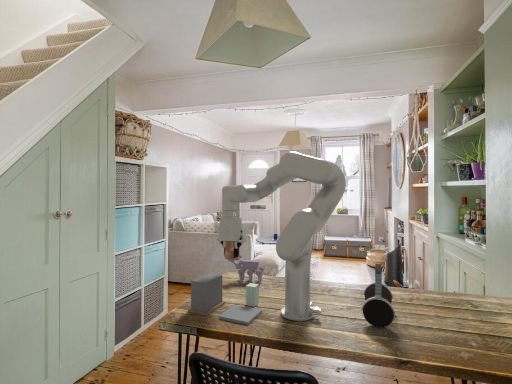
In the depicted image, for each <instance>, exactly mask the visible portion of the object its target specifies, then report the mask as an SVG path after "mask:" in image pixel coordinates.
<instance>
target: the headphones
mask: <svg viewBox="0 0 512 384" xmlns="http://www.w3.org/2000/svg"><path fill="white" fill-rule="evenodd" d="M374 266H375V268H374V271H375V273H374V275H375V276H374V282H372V283H370V284H368V285H367V286H366V287H365V289H364V290H363V294H362V295H363V296H364V300H365V301H364V302H363V304H362V306H361V311H362V315H363V317H364V320H366V322H367V323H368V324H370V325H371V326H372V327H376V328H386V327H388V326H390V325H391V324H392V323H393V321H394V318H395V317H396V311H395V309H394V306H393V304H392V303H393V301H392V300H393V299H394V296H393V293H392V291H391V289H390V288H389V287H388V286H387V285H386V284H384V283H383V281H382V279H383V278H382V277H383V275H382V271H383V270H382V268H383V267H382V263H377V262H376V263H375V265H374Z"/></svg>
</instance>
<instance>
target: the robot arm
mask: <svg viewBox="0 0 512 384" xmlns="http://www.w3.org/2000/svg"><path fill="white" fill-rule="evenodd" d="M265 175H266V176H265V177H264V178H262V179H261V180H260V181H257V182H256V183H254V184H238V185H224V186H223V187H222V188H221V206H222V207H221V209H222V210H221V211H220V212H219V214H220V215H221V216H222V217H220V218H219V219H220V220H219V225H218V238H217V239H216V240H217V242H219V243H220V244H221V246H222V248H223V255H224V257H225V241H231V242H234V245H235V248H234V258H237V257H239V254H240V247H242V245H244V244H245V243H246V242H247V239H246V237H245V235H244V228H243V220H242V217H241V214H240V213H241V211H240V210H241V209H240V205H241V204H244V203H245V204H247V203H248V204H249V203H256V202H259V201H261V200H263V199H265V198H267V197H269V196H270V195H272V194H273V193H274V192H275V191H277V190H278V189H279V188H281V187H283V186H285V185H287V184H289V183H291V182H293V181H295V180H296V179H300V180H304V181H306V182H310V183H313V184H317V185H321V187H320V189H319V190H318V192H316V194H315V195H314V197H313V198H312V201H311V202H310V203H309V204H308V206H307V207H306V208H304V209H303V208H302V209H301V210H298V211H297V212H295V213H294V214H293V215H292V216H291V218H290V219H289V221H288V223H287V224H286V226H285V227H284V229H283V231H282V232H281V233H280V235H279V236H278V239H277V240H276V244H275V252H276V253H277V256H278V257H279V258H280V259H281V260H283V261H285V266H284V267H285V268H284V270H285V271H284V299H285V300H284V307H282V308H281V310H280V315H281V317H283V318H285V319H287V320H291V321H296V322H303V321H310V320H311V319H313V318H314V317H315V315H319V316H320V315H322V312H323V311H322V309H321V308H320V307H319V306H314V305H313V302H312V301H311V262H312V254H313V253H312V252H313V243H312V237H313V236H314V235H317V234H319V233H320V232H321V231H322V230H323V229H324V227H325V225H326V223H327V222H328V220H329V219H330V217H331V215H333V213H334V211H335V209H336V208H337V206H338V205H339V203H340V202H341V200H342V198H343V196H344V194H345V191H346V186H347V185H346V184H347V183H346V182H347V181H346V177H345V174H344V171H343V170H342V169H341V167H340V166H338V164H336V163H335V162H333V161H330V160H326V159H323V158H319V157H314V156H311V155H306V154H302V153H300V152H297V151H294V150H293V151H292V150H291V151H287V152H285V153H283V155H282V156H281V157H280V159H279V162H278V163H277V164H275V165H273V166H271V167H270V168H268V169H267V171H266V174H265ZM240 203H241V204H240Z"/></svg>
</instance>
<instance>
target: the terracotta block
mask: <svg viewBox="0 0 512 384" xmlns="http://www.w3.org/2000/svg"><path fill="white" fill-rule="evenodd" d="M234 248H235V245H234V242H231V241H225V256H224V259H225V260H227V259H228V260H227V261H229V260H234V259H237V258H238V257H237V258H234Z"/></svg>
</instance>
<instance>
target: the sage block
mask: <svg viewBox="0 0 512 384" xmlns="http://www.w3.org/2000/svg"><path fill="white" fill-rule="evenodd" d="M246 285H247V286H246ZM246 285H245V286H246V288H245V306H248V307H252V308H254V307H256V306H257V305H259V303H260V300H259V299H260V289H259V288H260V284H258V283H253V282H252V283H250V282H249V283H248V284H246Z"/></svg>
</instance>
